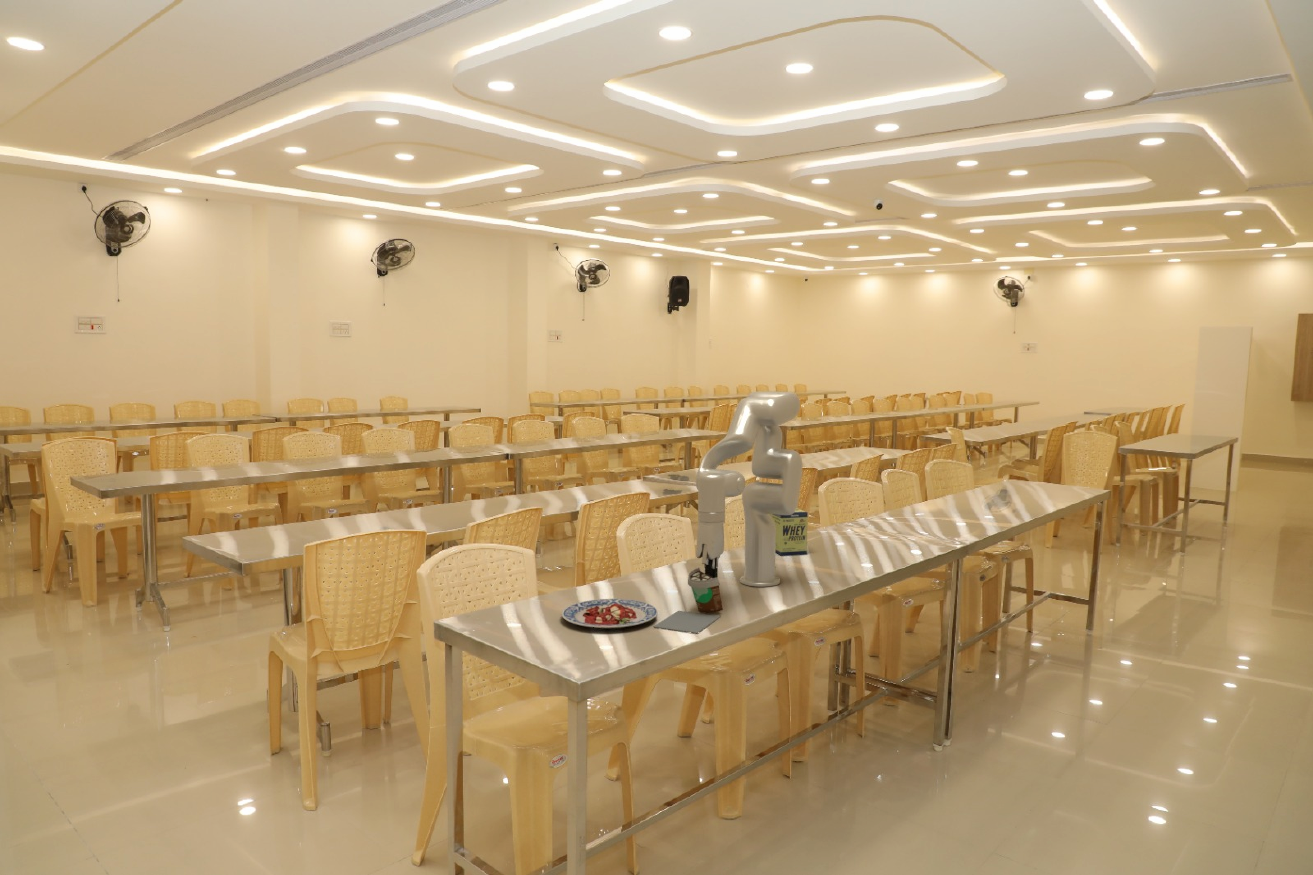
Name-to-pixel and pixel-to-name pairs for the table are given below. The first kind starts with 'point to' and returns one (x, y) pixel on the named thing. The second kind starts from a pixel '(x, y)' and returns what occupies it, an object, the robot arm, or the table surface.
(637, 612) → the ceramic plate
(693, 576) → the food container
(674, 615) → the mat
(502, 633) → the table surface
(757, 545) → the robot arm
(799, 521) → the protein box
